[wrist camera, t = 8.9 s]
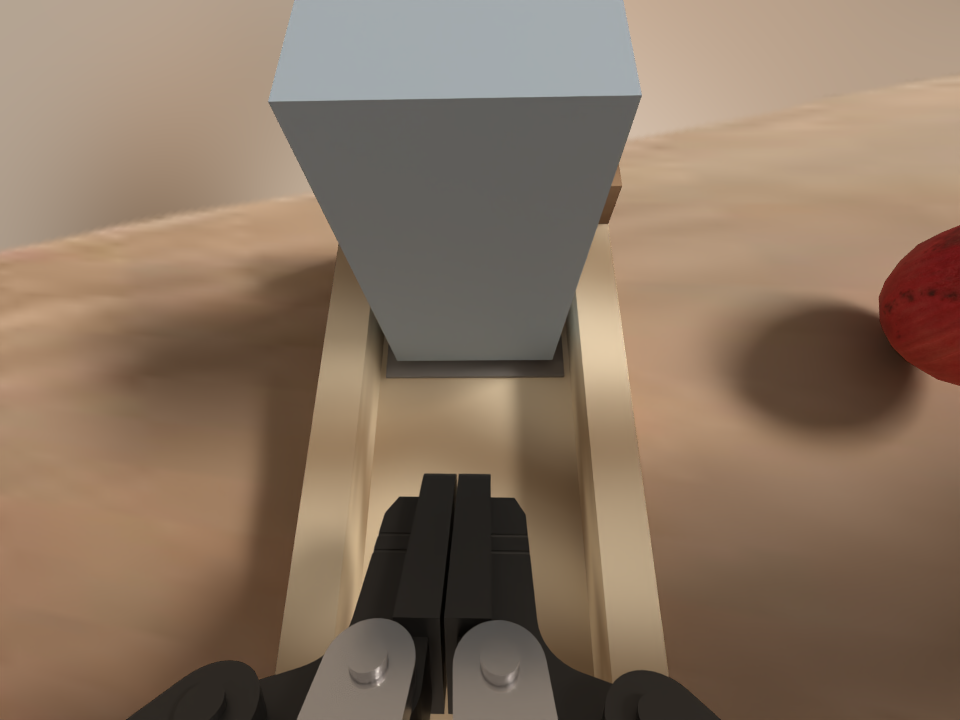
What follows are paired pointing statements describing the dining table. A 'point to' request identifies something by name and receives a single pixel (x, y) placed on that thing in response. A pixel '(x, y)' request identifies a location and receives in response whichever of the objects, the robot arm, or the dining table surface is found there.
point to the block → (460, 157)
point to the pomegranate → (926, 306)
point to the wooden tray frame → (485, 472)
